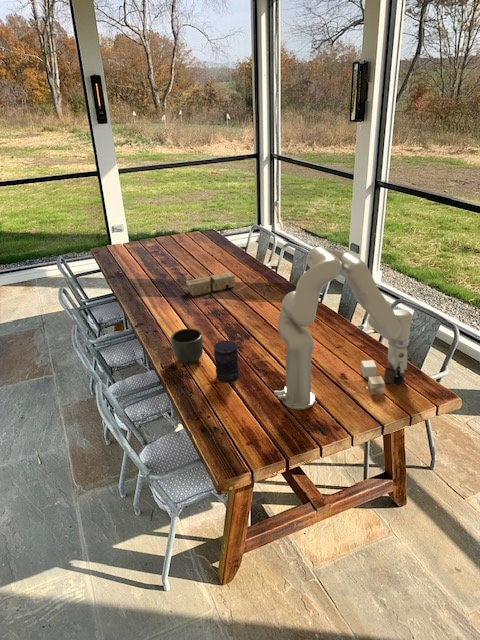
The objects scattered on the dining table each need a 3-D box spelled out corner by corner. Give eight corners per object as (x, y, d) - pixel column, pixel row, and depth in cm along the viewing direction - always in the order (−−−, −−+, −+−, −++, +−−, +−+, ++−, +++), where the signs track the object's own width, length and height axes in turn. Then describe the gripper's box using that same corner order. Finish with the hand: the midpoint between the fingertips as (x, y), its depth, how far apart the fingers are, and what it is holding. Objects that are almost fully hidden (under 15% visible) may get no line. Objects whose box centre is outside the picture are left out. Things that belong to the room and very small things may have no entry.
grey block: (363, 377, 192) (364, 367, 189) (360, 370, 196) (361, 360, 194) (375, 376, 192) (376, 366, 189) (372, 370, 196) (373, 360, 194)
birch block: (370, 394, 181) (371, 384, 179) (367, 387, 185) (368, 376, 183) (383, 394, 181) (384, 383, 179) (380, 386, 185) (381, 376, 183)
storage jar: (217, 370, 203) (214, 340, 196) (239, 369, 202) (237, 340, 195) (215, 383, 194) (212, 352, 187) (239, 382, 193) (236, 352, 187)
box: (389, 374, 192) (391, 359, 189) (404, 379, 189) (406, 364, 185) (383, 381, 188) (385, 366, 185) (398, 386, 184) (400, 371, 181)
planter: (170, 357, 215) (167, 332, 209) (198, 349, 220) (196, 325, 214) (179, 371, 204) (175, 346, 198) (208, 363, 208) (206, 338, 202)
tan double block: (230, 284, 295) (186, 292, 284) (229, 271, 291) (185, 279, 281) (235, 288, 288) (190, 296, 278) (234, 275, 285) (189, 283, 274)
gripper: (415, 351, 172) (410, 389, 180) (401, 329, 188) (397, 365, 195) (395, 352, 172) (391, 390, 180) (382, 330, 188) (379, 366, 195)
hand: (394, 377), depth 188 cm, fingers closed on box, 8 cm apart
